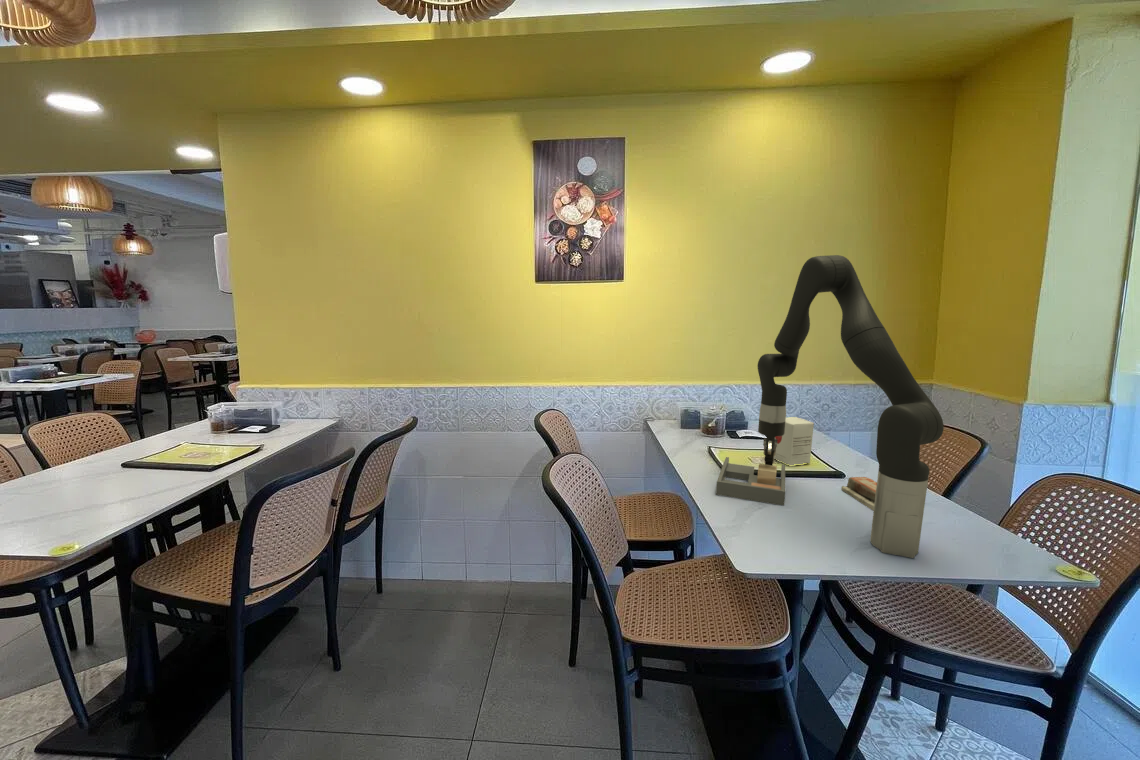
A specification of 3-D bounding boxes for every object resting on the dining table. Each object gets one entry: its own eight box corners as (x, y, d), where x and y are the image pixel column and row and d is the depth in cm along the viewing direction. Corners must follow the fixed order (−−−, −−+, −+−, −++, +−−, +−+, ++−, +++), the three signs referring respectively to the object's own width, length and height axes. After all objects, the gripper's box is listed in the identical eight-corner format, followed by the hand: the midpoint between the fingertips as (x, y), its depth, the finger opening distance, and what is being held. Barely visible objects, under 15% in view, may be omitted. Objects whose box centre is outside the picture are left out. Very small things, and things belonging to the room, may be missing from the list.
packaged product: (841, 475, 144) (873, 475, 145) (839, 490, 145) (871, 490, 146) (882, 500, 127) (919, 499, 127) (880, 517, 127) (917, 517, 128)
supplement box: (770, 459, 172) (774, 417, 170) (791, 456, 175) (795, 416, 172) (789, 467, 164) (793, 424, 161) (810, 464, 166) (814, 422, 164)
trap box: (784, 505, 133) (785, 491, 132) (715, 494, 140) (716, 481, 139) (784, 476, 155) (785, 464, 154) (725, 468, 162) (725, 457, 161)
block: (775, 485, 142) (776, 472, 142) (757, 482, 144) (758, 469, 144) (775, 478, 148) (776, 465, 147) (758, 475, 150) (759, 463, 149)
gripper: (760, 413, 156) (756, 464, 159) (757, 422, 144) (753, 478, 147) (785, 415, 153) (781, 468, 156) (785, 424, 141) (780, 481, 144)
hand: (768, 472), depth 151 cm, fingers closed
